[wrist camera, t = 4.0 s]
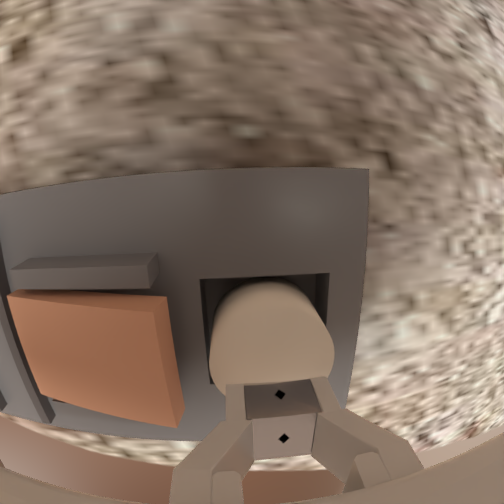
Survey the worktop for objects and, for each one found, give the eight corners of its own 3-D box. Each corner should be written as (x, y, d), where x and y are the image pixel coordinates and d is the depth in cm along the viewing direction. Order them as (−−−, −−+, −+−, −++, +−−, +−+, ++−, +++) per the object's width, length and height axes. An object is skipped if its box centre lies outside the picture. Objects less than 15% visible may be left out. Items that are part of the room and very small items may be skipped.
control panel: (335, 167, 15) (388, 170, 10) (323, 385, 18) (349, 449, 13) (-30, 200, 14) (-90, 217, 8) (15, 377, 17) (-20, 423, 12)
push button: (316, 273, 13) (339, 303, 10) (311, 362, 14) (328, 402, 11) (208, 279, 13) (203, 311, 10) (216, 368, 14) (214, 412, 11)
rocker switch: (166, 296, 10) (153, 311, 9) (185, 408, 12) (177, 428, 10) (24, 285, 11) (6, 295, 10) (53, 380, 12) (41, 394, 11)
